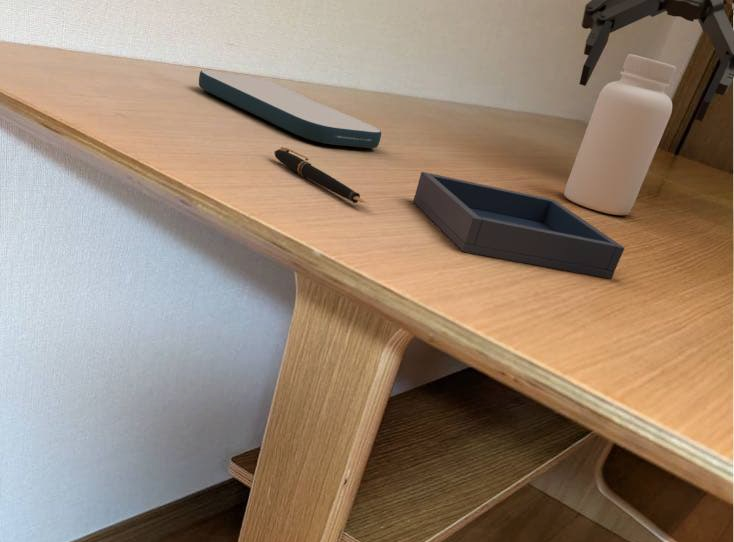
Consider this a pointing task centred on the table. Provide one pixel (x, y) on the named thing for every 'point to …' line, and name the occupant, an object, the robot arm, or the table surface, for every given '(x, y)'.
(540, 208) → the tray
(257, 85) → the external hard drive
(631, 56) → the pill bottle
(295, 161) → the fountain pen
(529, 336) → the table surface
